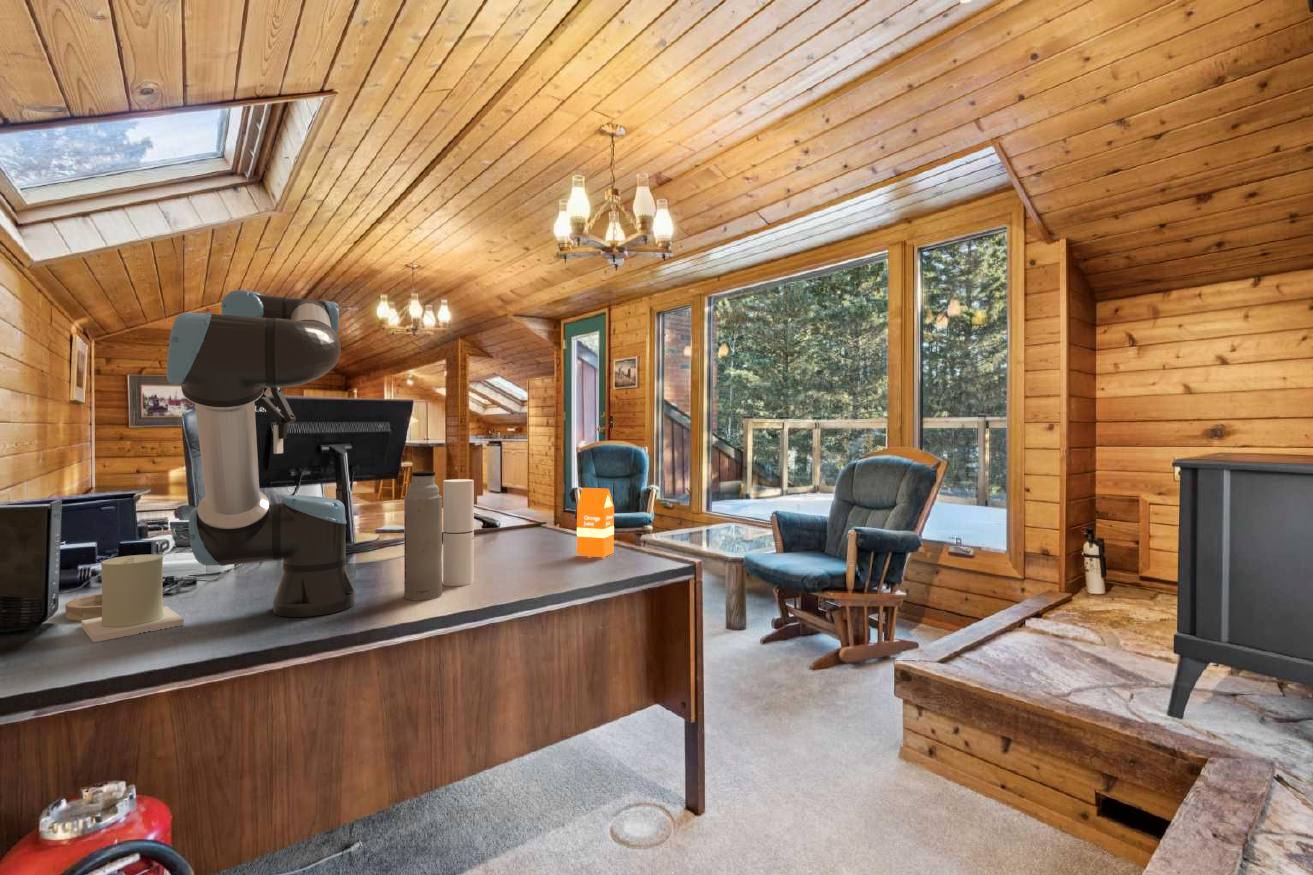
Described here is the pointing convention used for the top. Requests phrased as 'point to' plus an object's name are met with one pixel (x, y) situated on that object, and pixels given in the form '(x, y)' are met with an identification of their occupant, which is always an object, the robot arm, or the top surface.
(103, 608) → the can
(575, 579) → the top surface
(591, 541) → the orange juice
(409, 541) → the thermos bottle
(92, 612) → the collar
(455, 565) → the cylindrical container
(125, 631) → the beige base plate
